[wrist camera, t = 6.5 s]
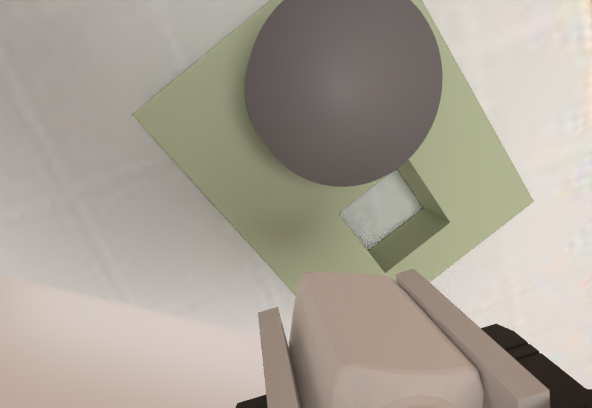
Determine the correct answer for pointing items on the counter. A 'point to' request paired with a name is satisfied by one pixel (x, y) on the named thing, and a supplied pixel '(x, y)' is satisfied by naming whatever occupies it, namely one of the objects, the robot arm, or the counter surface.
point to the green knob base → (338, 137)
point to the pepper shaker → (373, 348)
